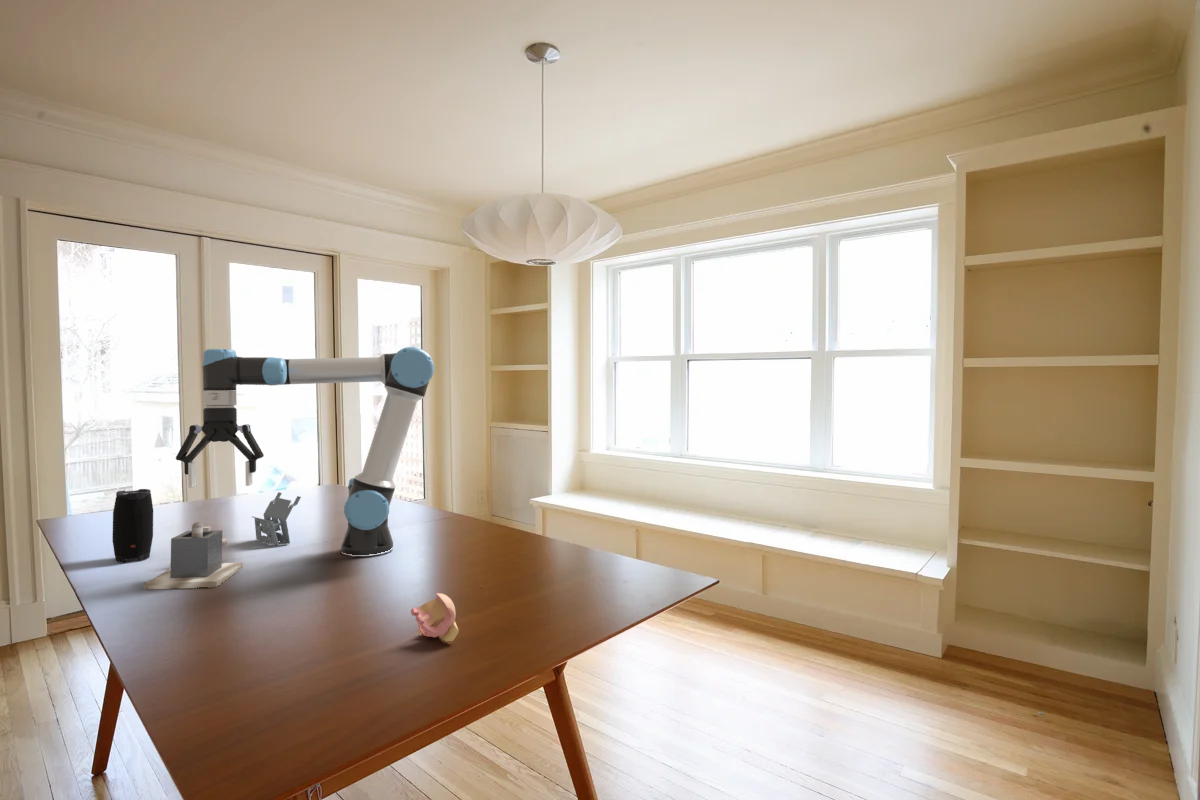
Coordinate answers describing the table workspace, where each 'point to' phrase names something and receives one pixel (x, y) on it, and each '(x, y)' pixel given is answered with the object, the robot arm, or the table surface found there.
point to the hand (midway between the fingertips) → (221, 485)
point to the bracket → (275, 521)
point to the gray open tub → (196, 554)
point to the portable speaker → (132, 525)
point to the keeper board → (211, 581)
